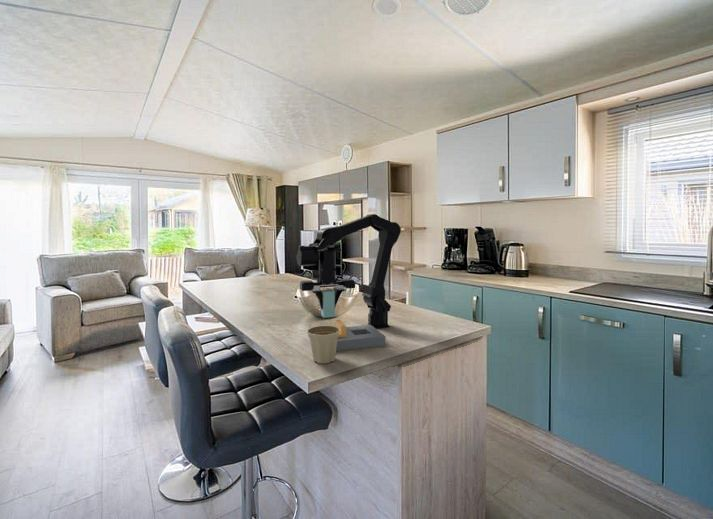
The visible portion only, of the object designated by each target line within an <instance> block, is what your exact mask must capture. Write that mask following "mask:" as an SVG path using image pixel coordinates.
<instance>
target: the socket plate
mask: <svg viewBox="0 0 713 519" xmlns="http://www.w3.org/2000/svg"><path fill="white" fill-rule="evenodd" d="M376 346H377V347H384V346H386V335H385V334H384V333H382V332H380V330H378V328H374V327H373V326H372V325H369V324H366V325H355V326H354V325H353V326H346V337H339V338H337V347H336V352H338V351H340V352H341V351H348V350H349V351H350V350H357V349H366V348H368V349H369V348H374V347H376ZM377 347H376V348H377Z"/></svg>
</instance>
